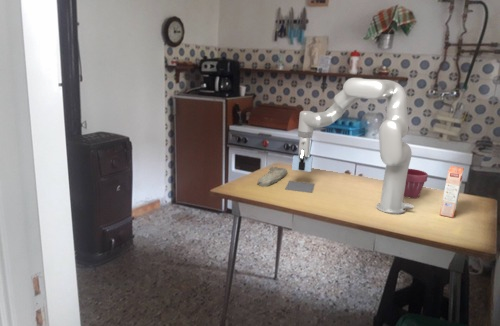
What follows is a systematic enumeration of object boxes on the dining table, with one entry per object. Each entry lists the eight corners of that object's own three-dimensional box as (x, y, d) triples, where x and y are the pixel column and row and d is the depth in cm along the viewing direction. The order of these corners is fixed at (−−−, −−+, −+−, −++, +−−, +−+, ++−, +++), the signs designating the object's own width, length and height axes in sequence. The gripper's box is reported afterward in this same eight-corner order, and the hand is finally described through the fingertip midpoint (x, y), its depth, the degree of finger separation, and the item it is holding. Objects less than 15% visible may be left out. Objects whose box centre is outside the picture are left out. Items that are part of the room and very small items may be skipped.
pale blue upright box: (311, 170, 207) (312, 157, 205) (310, 171, 203) (312, 158, 201) (292, 167, 209) (294, 155, 207) (291, 169, 205) (293, 156, 204)
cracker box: (454, 218, 171) (462, 173, 166) (439, 215, 174) (447, 170, 169) (456, 210, 183) (464, 167, 178) (442, 207, 186) (450, 165, 181)
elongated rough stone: (252, 187, 206) (269, 191, 202) (253, 178, 204) (270, 182, 200) (275, 170, 236) (290, 173, 233) (275, 162, 235) (291, 165, 231)
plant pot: (400, 199, 194) (404, 174, 191) (390, 190, 208) (393, 167, 205) (428, 200, 195) (433, 176, 192) (416, 192, 208) (420, 169, 205)
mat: (314, 184, 212) (314, 183, 212) (312, 192, 197) (312, 192, 197) (289, 181, 215) (289, 180, 215) (284, 189, 200) (285, 188, 200)
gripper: (310, 138, 193) (307, 173, 197) (313, 133, 209) (310, 165, 213) (295, 136, 194) (292, 171, 199) (299, 131, 210) (296, 164, 215)
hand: (301, 168), depth 206 cm, fingers closed on pale blue upright box, 4 cm apart
